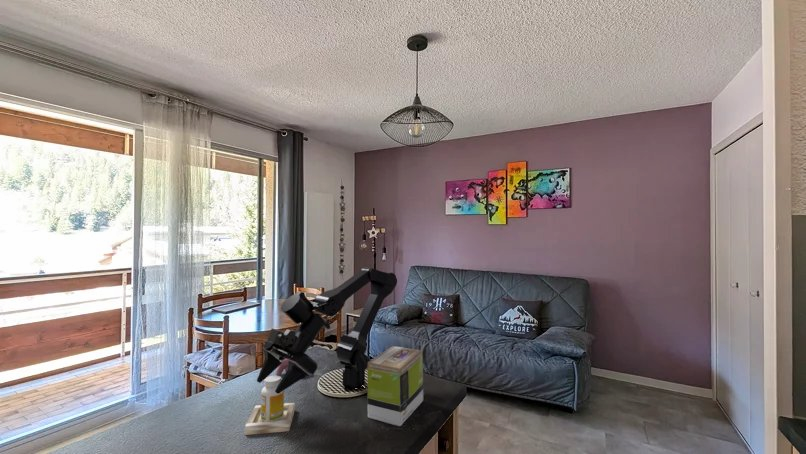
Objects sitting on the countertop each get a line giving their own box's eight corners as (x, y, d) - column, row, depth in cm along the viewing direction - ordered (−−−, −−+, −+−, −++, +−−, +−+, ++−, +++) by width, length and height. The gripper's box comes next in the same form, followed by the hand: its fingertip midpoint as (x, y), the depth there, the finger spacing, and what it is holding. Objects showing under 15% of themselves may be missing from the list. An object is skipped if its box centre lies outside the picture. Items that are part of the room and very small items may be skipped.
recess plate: (294, 410, 91) (294, 402, 91) (289, 431, 81) (289, 422, 81) (255, 413, 89) (255, 405, 89) (244, 435, 79) (244, 426, 79)
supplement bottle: (287, 412, 88) (287, 374, 88) (277, 423, 82) (278, 383, 82) (266, 411, 88) (267, 373, 88) (256, 422, 82) (257, 382, 83)
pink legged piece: (307, 378, 114) (311, 357, 118) (302, 377, 110) (306, 355, 114) (279, 377, 115) (283, 355, 119) (273, 376, 111) (278, 354, 115)
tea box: (393, 394, 100) (393, 344, 101) (424, 401, 96) (424, 349, 97) (365, 418, 87) (366, 360, 87) (400, 428, 83) (401, 367, 83)
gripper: (269, 311, 95) (228, 361, 86) (308, 322, 83) (263, 382, 74) (294, 333, 100) (257, 382, 92) (333, 346, 88) (295, 405, 80)
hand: (267, 387), depth 84 cm, fingers open, 9 cm apart
